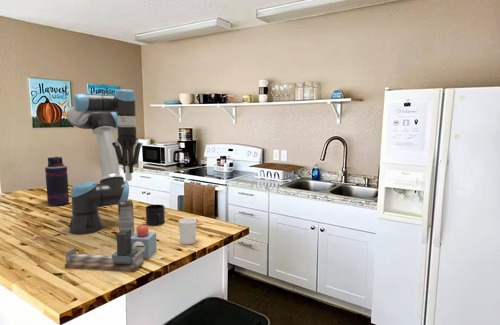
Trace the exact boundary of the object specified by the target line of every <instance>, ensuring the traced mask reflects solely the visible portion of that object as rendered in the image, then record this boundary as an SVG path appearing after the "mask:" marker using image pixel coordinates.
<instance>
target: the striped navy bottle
mask: <svg viewBox="0 0 500 325" xmlns="http://www.w3.org/2000/svg"><path fill="white" fill-rule="evenodd" d="M44 170H45V171H44V172H45V184H46V200H47V204H48V206H54V207H59V205H60V206H61V205H64V204H66V205H68V204H69V202H70V195H69V193H70V192H69V182H68V181H69V180H68V179H69V178H68V166H66V165H65V164H64V162H63V157H61V156H53V157H47V166H46V167H45V168H44Z"/></svg>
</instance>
